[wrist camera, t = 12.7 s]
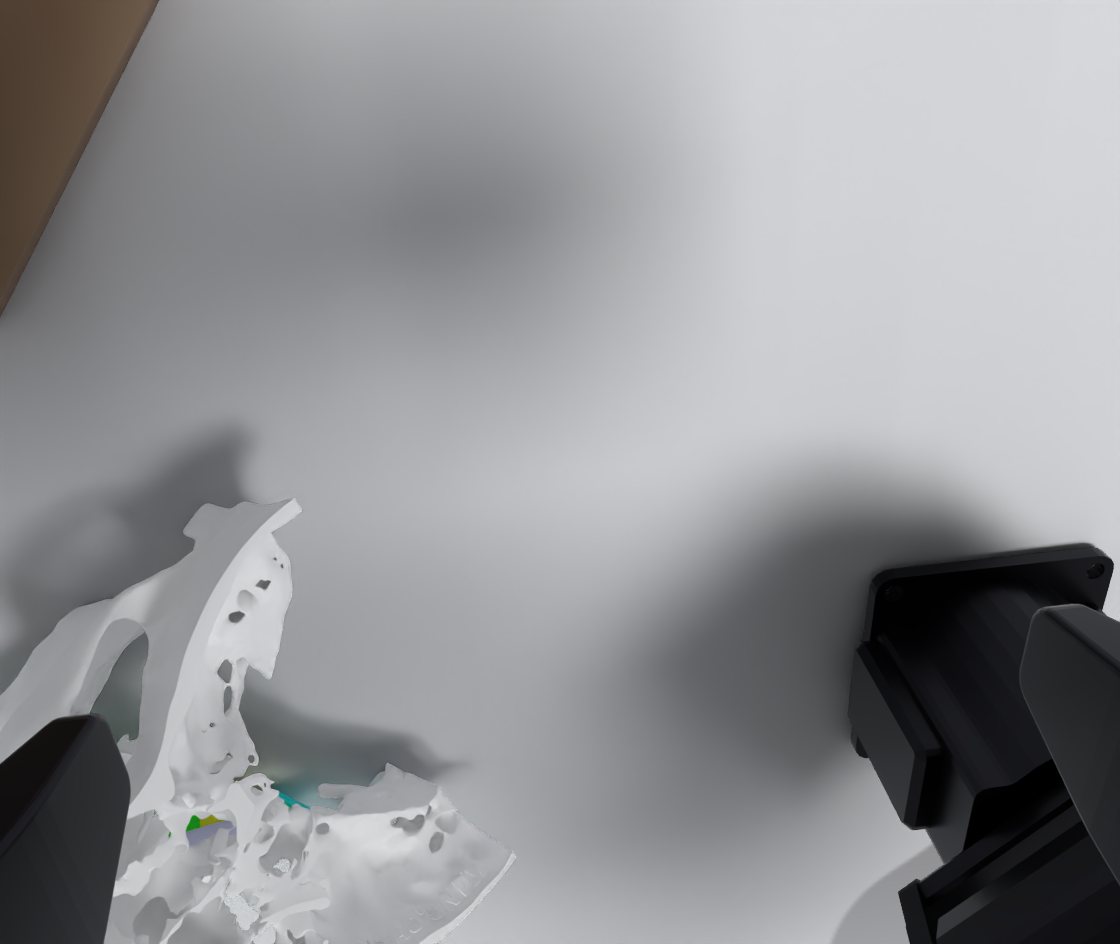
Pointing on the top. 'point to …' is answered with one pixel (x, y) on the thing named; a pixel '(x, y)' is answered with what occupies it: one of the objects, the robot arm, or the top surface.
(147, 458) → the top surface
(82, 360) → the top surface
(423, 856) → the white crumpled lump
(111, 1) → the plate
